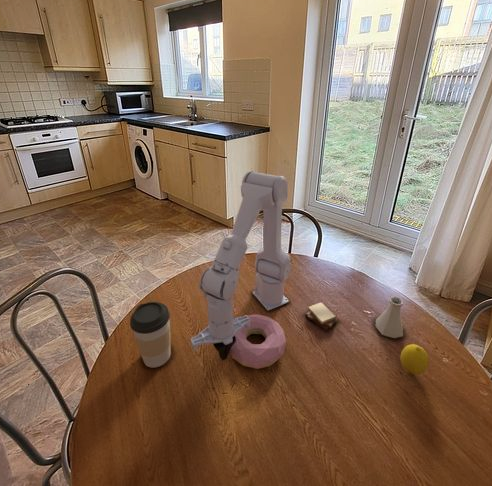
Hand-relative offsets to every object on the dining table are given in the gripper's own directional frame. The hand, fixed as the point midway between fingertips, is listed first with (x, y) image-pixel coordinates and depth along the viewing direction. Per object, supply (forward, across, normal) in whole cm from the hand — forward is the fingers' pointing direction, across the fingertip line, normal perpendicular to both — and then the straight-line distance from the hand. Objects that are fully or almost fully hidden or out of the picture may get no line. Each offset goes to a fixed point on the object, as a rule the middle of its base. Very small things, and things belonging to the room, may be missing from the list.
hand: (223, 356), depth 72 cm
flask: (+2, +45, -13) cm, 47 cm away
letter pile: (+2, +31, -1) cm, 31 cm away
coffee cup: (+2, -14, +10) cm, 17 cm away
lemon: (+2, +38, -24) cm, 45 cm away
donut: (+2, +10, 0) cm, 10 cm away
